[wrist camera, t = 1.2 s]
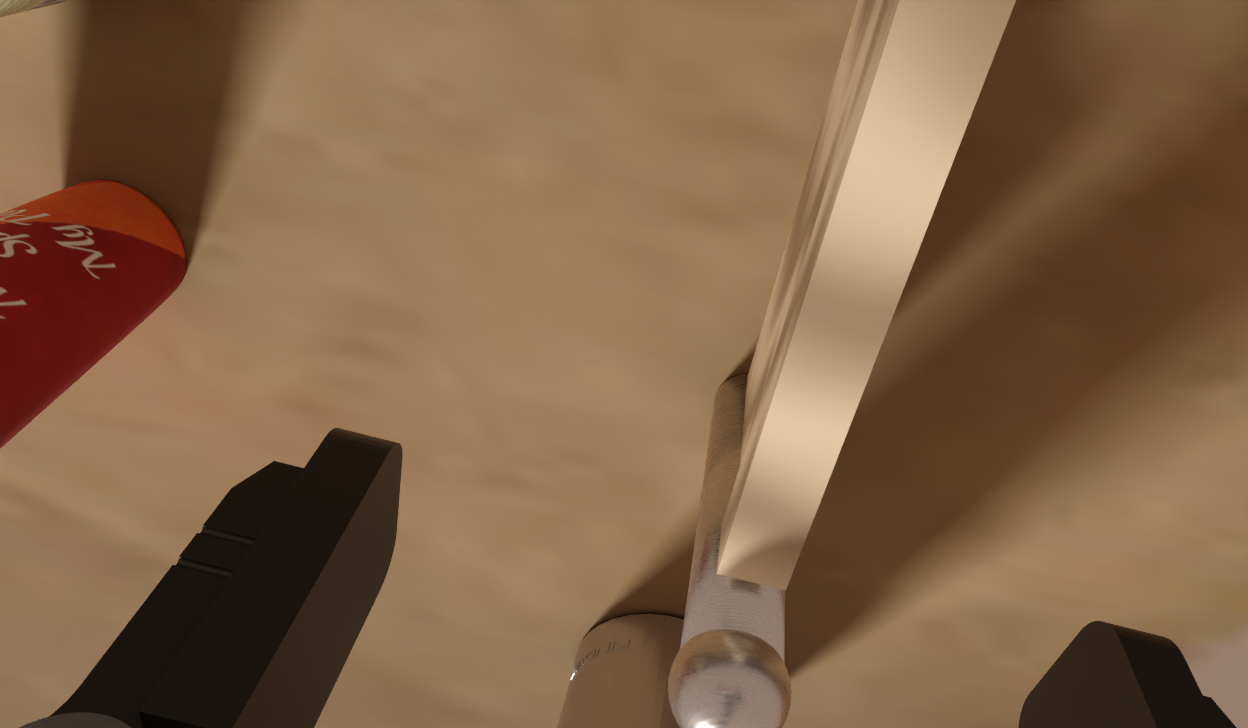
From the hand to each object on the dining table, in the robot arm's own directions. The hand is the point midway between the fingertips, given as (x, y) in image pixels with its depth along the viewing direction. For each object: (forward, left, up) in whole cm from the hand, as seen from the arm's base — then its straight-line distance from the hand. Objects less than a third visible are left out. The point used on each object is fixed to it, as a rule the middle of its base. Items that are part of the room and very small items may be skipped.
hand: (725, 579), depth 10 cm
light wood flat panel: (-3, 0, -21) cm, 21 cm away
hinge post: (-9, +9, -22) cm, 26 cm away
